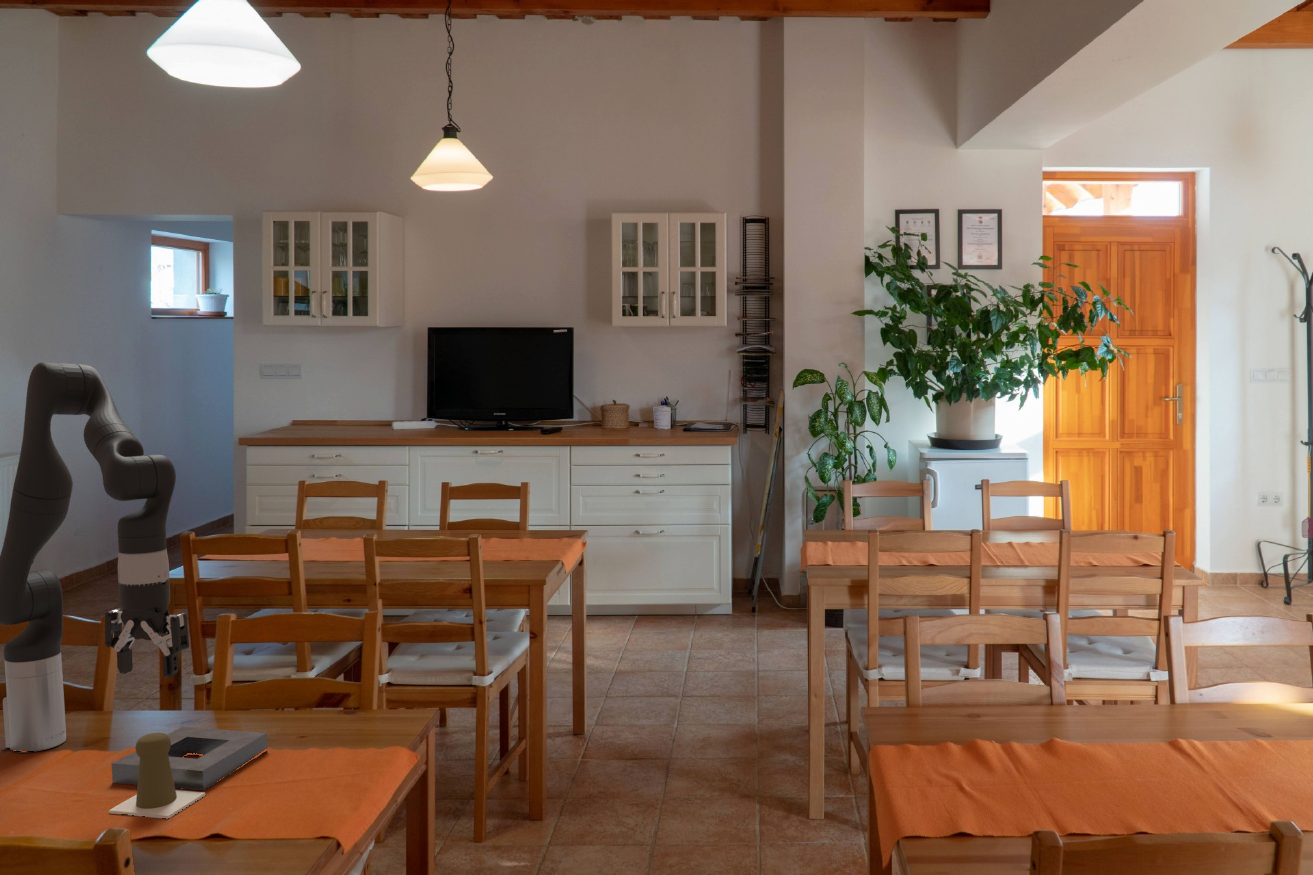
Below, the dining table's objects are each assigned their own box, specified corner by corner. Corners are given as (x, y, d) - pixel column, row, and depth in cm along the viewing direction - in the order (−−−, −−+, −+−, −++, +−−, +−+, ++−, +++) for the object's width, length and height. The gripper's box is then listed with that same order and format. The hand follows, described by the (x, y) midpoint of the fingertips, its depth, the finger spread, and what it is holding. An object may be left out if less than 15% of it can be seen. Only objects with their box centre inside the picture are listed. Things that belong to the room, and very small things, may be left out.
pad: (109, 813, 165) (108, 810, 165) (148, 790, 174) (148, 787, 174) (168, 819, 163) (168, 816, 163) (205, 795, 171) (205, 792, 171)
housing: (112, 783, 177) (111, 763, 177) (183, 744, 195) (182, 726, 194) (203, 791, 173) (202, 771, 173) (267, 751, 191) (266, 733, 190)
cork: (163, 809, 165) (159, 742, 164) (127, 808, 166) (123, 741, 165) (184, 793, 171) (180, 728, 170) (149, 792, 172) (146, 728, 171)
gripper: (89, 580, 166) (94, 678, 168) (165, 584, 163) (169, 685, 164) (124, 570, 173) (128, 664, 175) (197, 575, 170) (200, 670, 171)
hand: (148, 674), depth 169 cm, fingers open, 8 cm apart
